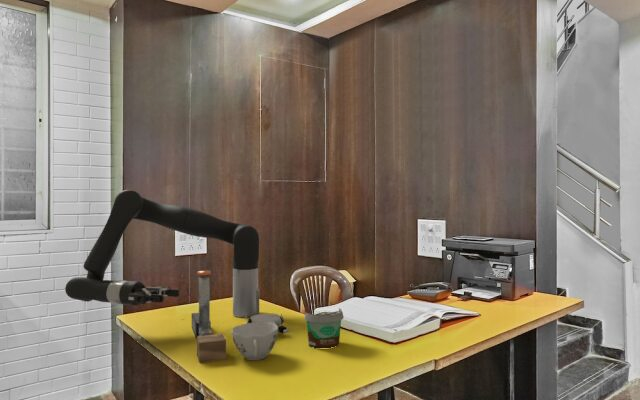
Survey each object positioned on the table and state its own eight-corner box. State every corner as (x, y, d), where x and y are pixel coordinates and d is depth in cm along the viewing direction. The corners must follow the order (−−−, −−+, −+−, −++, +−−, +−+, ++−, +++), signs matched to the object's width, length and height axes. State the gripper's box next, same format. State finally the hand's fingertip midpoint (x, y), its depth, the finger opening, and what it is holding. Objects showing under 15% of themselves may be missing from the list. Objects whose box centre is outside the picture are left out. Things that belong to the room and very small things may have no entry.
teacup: (233, 350, 131) (233, 322, 131) (277, 348, 132) (277, 320, 132) (230, 370, 116) (230, 338, 116) (279, 367, 117) (279, 336, 117)
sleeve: (191, 326, 154) (191, 313, 154) (205, 325, 156) (205, 312, 156) (195, 338, 142) (195, 323, 142) (210, 336, 143) (210, 321, 143)
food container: (313, 353, 128) (313, 317, 128) (304, 346, 134) (304, 312, 134) (351, 346, 134) (351, 312, 134) (340, 340, 139) (340, 307, 139)
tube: (192, 324, 154) (192, 264, 154) (204, 323, 155) (204, 263, 155) (199, 344, 133) (199, 274, 133) (213, 342, 135) (213, 274, 135)
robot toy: (291, 340, 143) (281, 324, 157) (291, 326, 142) (281, 311, 157) (251, 344, 139) (245, 327, 153) (251, 329, 139) (245, 313, 153)
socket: (196, 355, 126) (196, 336, 126) (222, 352, 129) (222, 333, 129) (199, 362, 121) (199, 342, 121) (226, 359, 123) (226, 340, 123)
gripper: (110, 284, 139) (157, 288, 136) (140, 277, 153) (183, 280, 149) (110, 309, 140) (157, 313, 136) (139, 299, 153) (183, 303, 149)
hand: (171, 296), depth 142 cm, fingers open, 8 cm apart
